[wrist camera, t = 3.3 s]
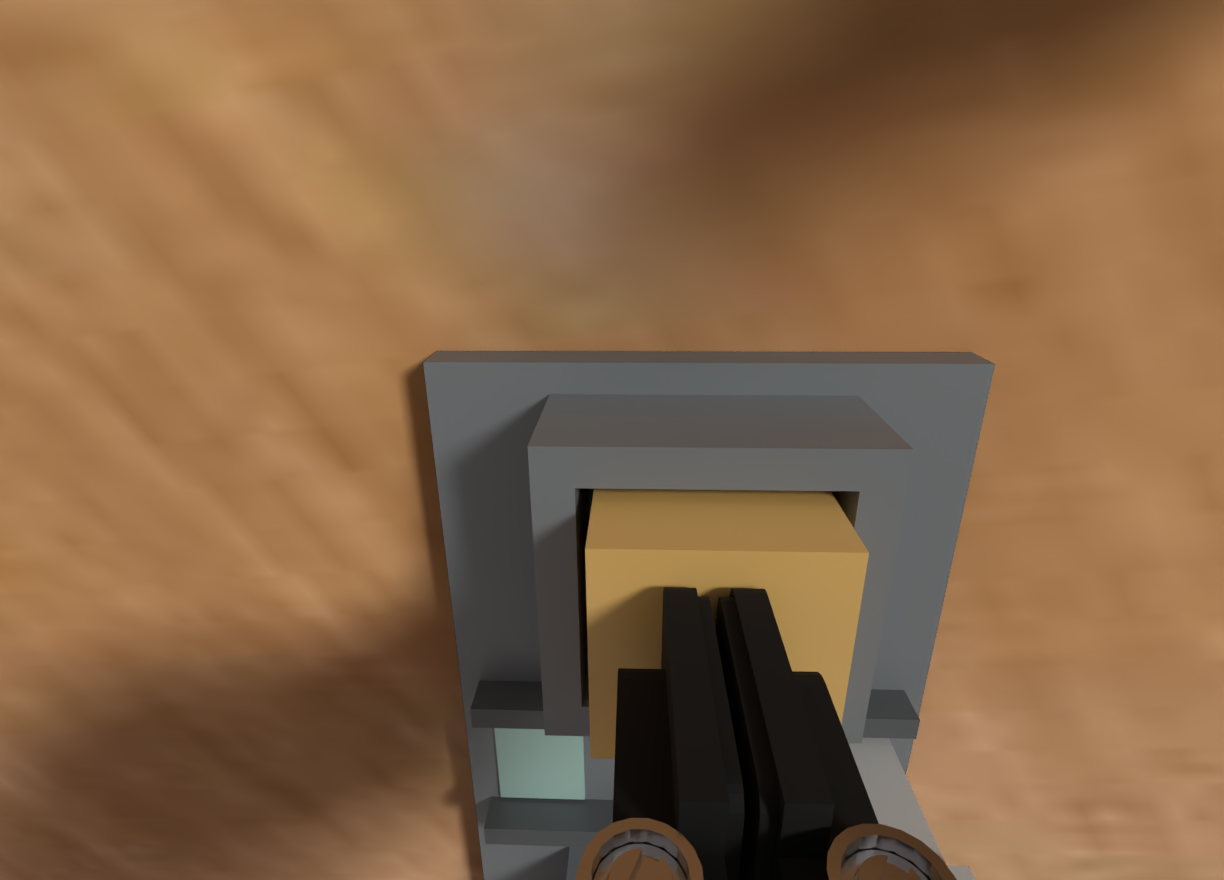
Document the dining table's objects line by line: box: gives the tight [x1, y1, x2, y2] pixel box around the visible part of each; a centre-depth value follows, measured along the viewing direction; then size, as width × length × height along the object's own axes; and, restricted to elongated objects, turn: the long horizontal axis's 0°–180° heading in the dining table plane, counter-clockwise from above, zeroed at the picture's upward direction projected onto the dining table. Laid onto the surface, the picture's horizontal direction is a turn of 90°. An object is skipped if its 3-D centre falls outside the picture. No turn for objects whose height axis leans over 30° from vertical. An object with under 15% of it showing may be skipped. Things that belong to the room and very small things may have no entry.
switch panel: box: [423, 351, 995, 880], centre depth 17 cm, size 12×22×4 cm, turn 0°
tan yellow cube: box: [585, 489, 869, 759], centre depth 13 cm, size 4×4×4 cm
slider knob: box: [848, 738, 976, 880], centre depth 15 cm, size 3×4×5 cm
